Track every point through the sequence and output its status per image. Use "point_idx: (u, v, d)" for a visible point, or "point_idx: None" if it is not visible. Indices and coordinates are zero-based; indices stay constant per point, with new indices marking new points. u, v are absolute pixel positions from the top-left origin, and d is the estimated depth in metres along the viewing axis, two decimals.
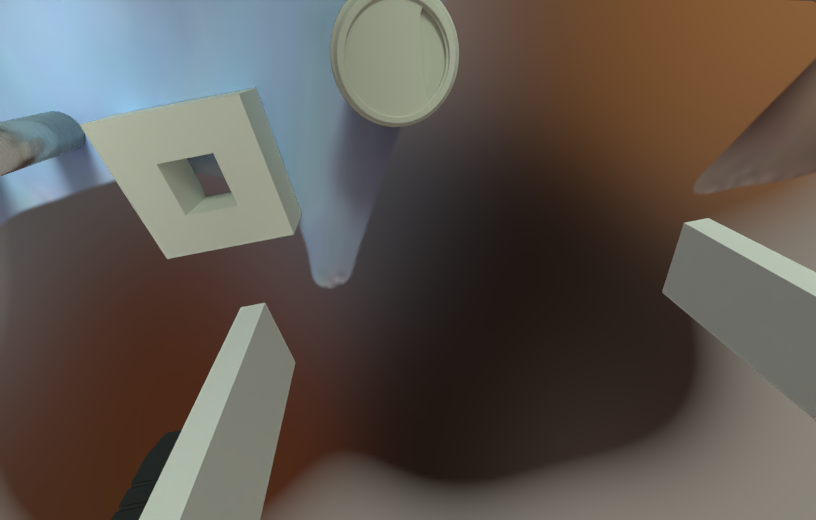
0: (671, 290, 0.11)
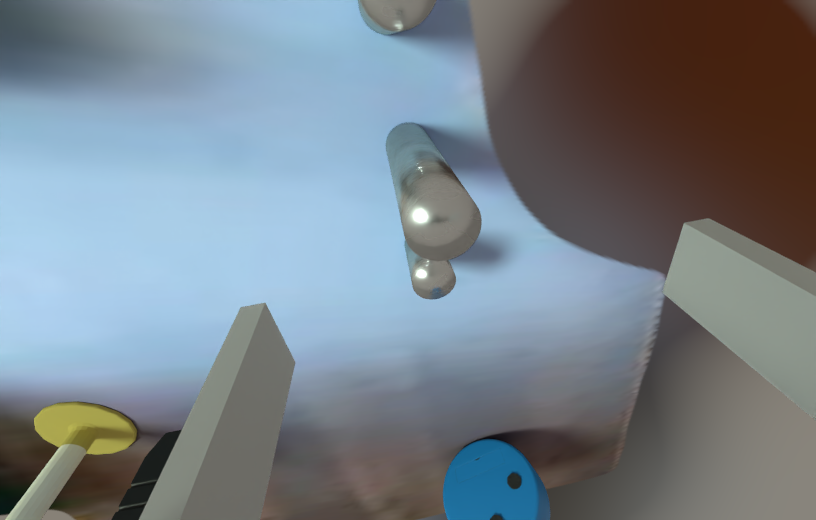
0: (671, 290, 0.11)
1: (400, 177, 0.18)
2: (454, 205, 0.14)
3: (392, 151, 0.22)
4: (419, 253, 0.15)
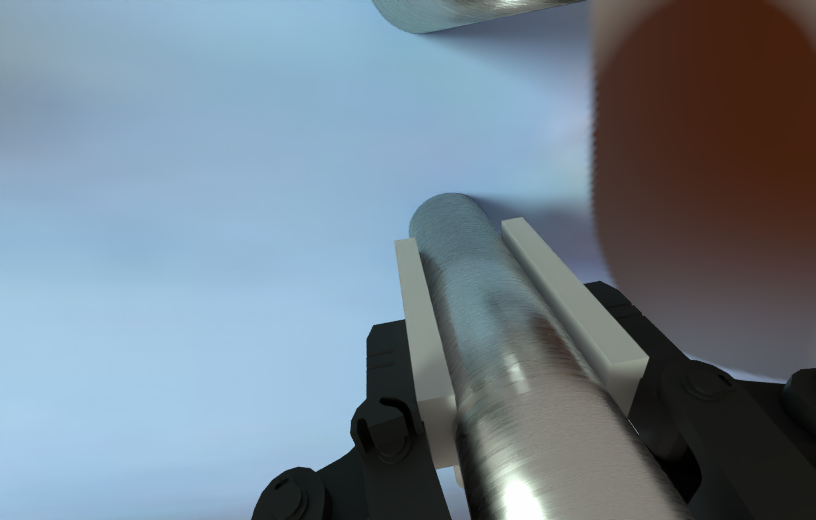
0: None
1: (478, 439, 0.06)
2: None
3: (430, 275, 0.11)
4: None
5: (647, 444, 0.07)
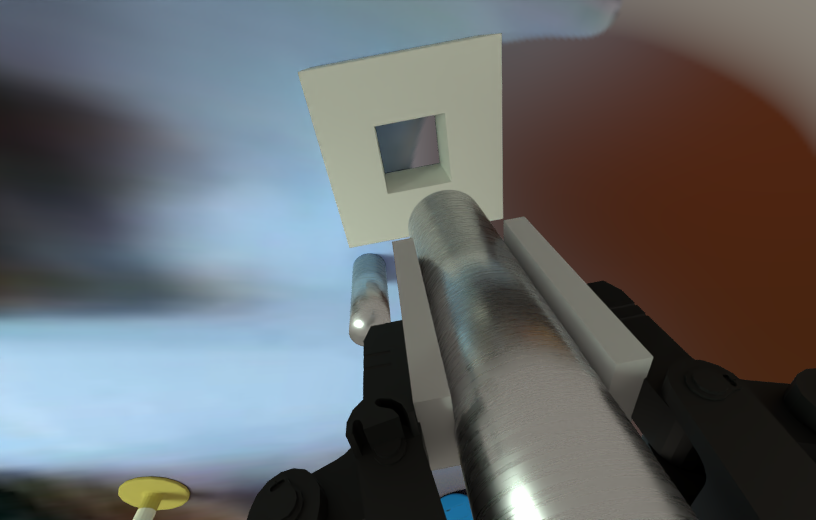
0: None
1: (472, 414, 0.07)
2: None
3: (429, 267, 0.11)
4: None
5: (651, 444, 0.07)
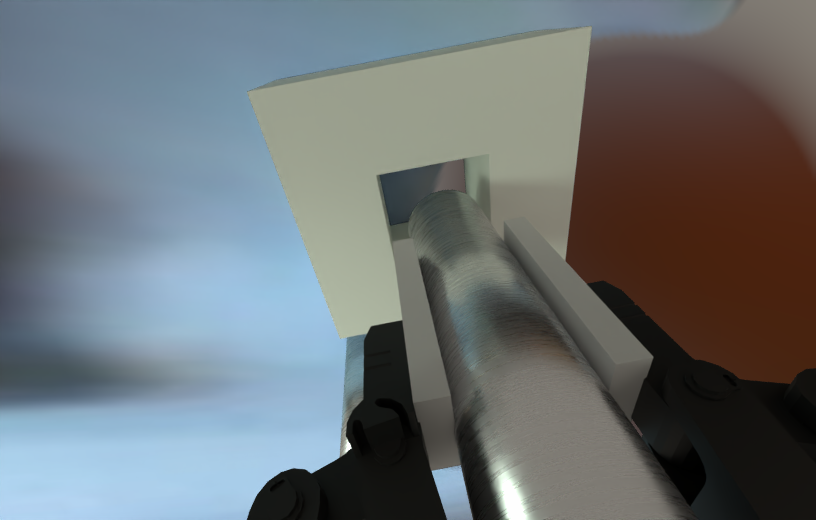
0: None
1: (472, 414, 0.07)
2: None
3: (429, 267, 0.11)
4: None
5: (651, 444, 0.07)
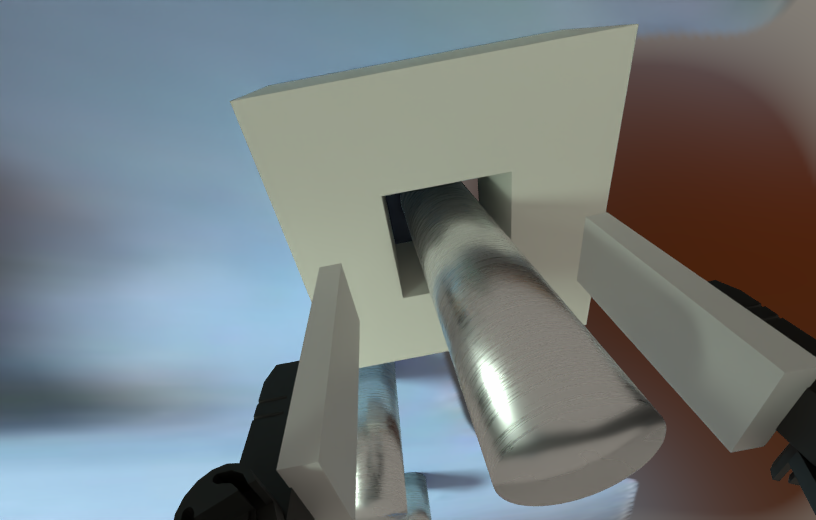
0: (582, 278, 0.12)
1: (452, 298, 0.09)
2: (616, 425, 0.06)
3: (418, 220, 0.14)
4: (517, 501, 0.07)
5: (803, 451, 0.07)
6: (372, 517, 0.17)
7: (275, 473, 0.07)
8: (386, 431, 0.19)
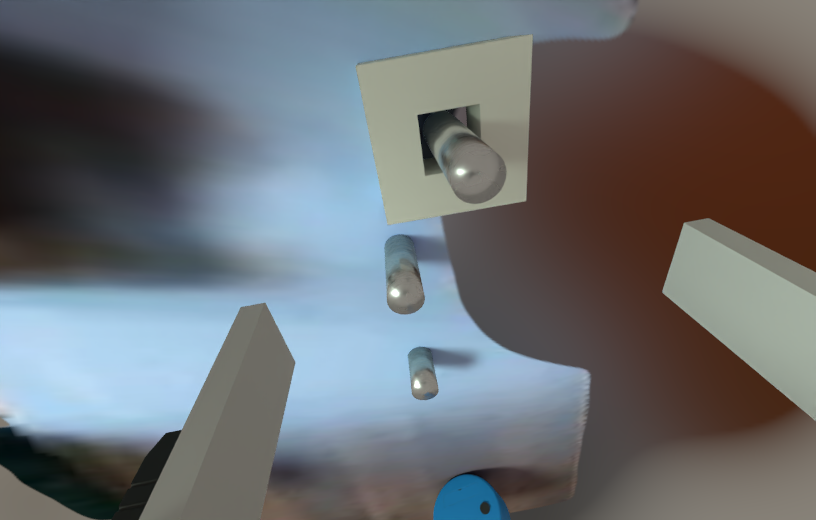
0: (671, 290, 0.11)
1: (443, 146, 0.23)
2: (487, 160, 0.20)
3: (432, 131, 0.28)
4: (460, 197, 0.21)
5: None
6: (405, 302, 0.31)
7: None
8: (412, 265, 0.33)
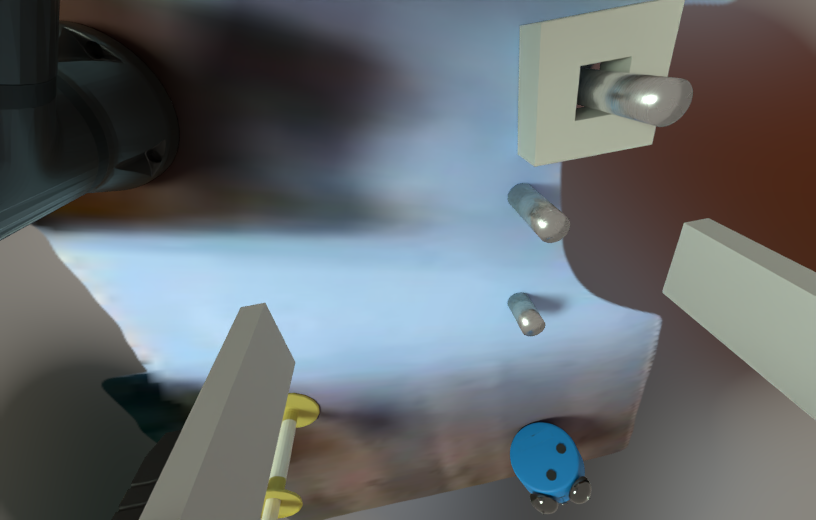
0: (671, 290, 0.11)
1: (621, 85, 0.29)
2: (681, 88, 0.25)
3: (586, 81, 0.33)
4: (651, 120, 0.27)
5: None
6: (553, 231, 0.36)
7: None
8: (550, 203, 0.38)
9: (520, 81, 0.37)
